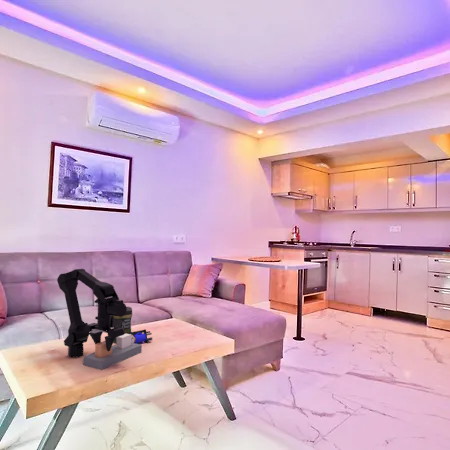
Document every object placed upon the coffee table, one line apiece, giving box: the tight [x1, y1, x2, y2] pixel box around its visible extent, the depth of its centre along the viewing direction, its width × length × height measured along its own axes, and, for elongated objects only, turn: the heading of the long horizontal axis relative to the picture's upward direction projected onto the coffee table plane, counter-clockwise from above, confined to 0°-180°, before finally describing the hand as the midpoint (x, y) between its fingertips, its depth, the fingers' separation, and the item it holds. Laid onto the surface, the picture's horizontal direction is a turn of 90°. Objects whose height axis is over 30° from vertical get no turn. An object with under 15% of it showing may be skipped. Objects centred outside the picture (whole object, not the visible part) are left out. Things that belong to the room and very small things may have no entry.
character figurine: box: [125, 328, 153, 345], centre depth 173 cm, size 8×7×15 cm
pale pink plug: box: [115, 334, 131, 350], centre depth 157 cm, size 4×6×8 cm, turn 152°
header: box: [82, 343, 143, 371], centre depth 151 cm, size 11×24×4 cm, turn 152°
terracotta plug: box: [94, 340, 112, 358], centre depth 146 cm, size 4×6×8 cm, turn 152°
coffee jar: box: [113, 306, 133, 345], centre depth 176 cm, size 10×8×19 cm
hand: (103, 349), depth 146 cm, fingers open, 6 cm apart
